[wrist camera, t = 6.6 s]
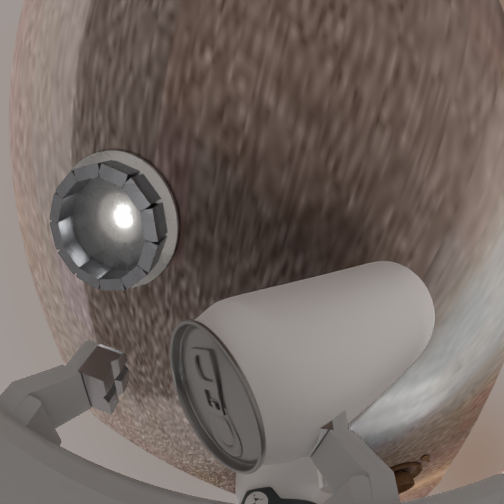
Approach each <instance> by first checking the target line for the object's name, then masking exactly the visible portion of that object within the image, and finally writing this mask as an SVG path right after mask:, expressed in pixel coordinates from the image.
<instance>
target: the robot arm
mask: <svg viewBox="0 0 504 504" xmlns="http://www.w3.org/2000/svg"><path fill="white" fill-rule="evenodd" d="M126 362H127V356H126V354H125V353H124V352H121V351H118V350H115V349H113V348H110V347H107V346H105V345H102V344H99V343H96V342H94V341H91V340H88V341H86V342H85V343H84V344H83V345H82V346H81V348H80V349H79V350H78V351H77V352H76V354H75V355H74V356H73V357H72V358H71V360H70V361H69V362H68V363H67V365H66V366H64V365H60V366H58V367H55V368H52V369H49V370H46V371H43V372H40V373H37V374H35V375H32V376H29V377H26V378H23V379H20V380H17V381H14V382H12V383H11V384H10V385H9V386H8V387H7V389H6V390H5V391H4V392H3V393H2V394H1V395H0V504H232V503H226V502H221V501H215V500H209V499H205V498H200V497H195V496H191V495H187V494H183V493H179V492H175V491H171V490H168V489H164V488H160V487H157V486H154V485H151V484H148V483H145V482H142V481H139V480H136V479H133V478H130V477H127V476H125V475H122V474H120V473H117V472H114V471H112V470H109V469H107V468H104V467H102V466H100V465H97V464H95V463H93V462H91V461H88V460H86V459H84V458H82V457H80V456H78V455H76V454H74V453H72V452H70V451H68V450H66V449H64V448H62V447H60V444H61V439H60V437H59V435H58V433H57V432H56V430H55V428H57V427H58V426H60V425H62V424H64V423H66V422H67V421H69V420H71V419H72V418H74V417H76V416H78V415H80V414H81V413H83V412H85V411H87V410H88V409H90V408H91V407H94V408H96V409H99V410H101V411H104V412H107V413H110V414H112V413H113V411H114V409H115V407H116V406H117V404H118V402H119V400H118V395H120V394H122V393H124V391H125V389H126V387H127V384H128V380H129V370H128V368H127V367H126V366H125V364H126ZM319 430H320V435H319V439H318V442H317V444H316V445H315V446H314V448H313V449H312V450H311V451H310V452H308V453H307V454H306V455H304V456H302V457H301V458H299V459H297V460H295V461H292V462H289V463H284V464H277V465H266V466H261V467H260V468H259V469H258V470H257V471H255V472H254V473H251V474H240V473H236V501H237V503H238V504H504V474H497V475H494V476H491V477H489V478H486V479H484V480H481V481H479V482H476V483H473V484H470V485H467V486H464V487H461V488H457V489H454V490H450V491H447V492H443V493H439V494H436V495H432V496H428V497H423V498H418V499H414V500H409V501H403V502H400V500H399V494H398V489H397V485H396V480H395V475H394V472H393V471H392V470H391V469H390V468H389V467H388V466H387V465H386V464H385V463H384V462H383V461H382V460H381V459H380V458H379V457H378V456H377V455H376V454H375V453H374V452H373V451H372V450H371V449H370V448H369V447H368V446H367V445H366V444H365V443H364V442H363V441H362V439H361V438H360V437H359V436H358V435H357V434H356V433H355V432H354V431H349V427H348V421H347V416H346V411H343V412H342V413H341V414H339V415H338V416H337V417H335V418H334V419H333V420H331V421H330V422H328V423H327V424H325V425H324V426H322V427H321V428H319Z"/></svg>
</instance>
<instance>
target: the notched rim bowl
mask: <svg viewBox="0 0 504 504" xmlns="http://www.w3.org/2000/svg"><path fill="white" fill-rule="evenodd" d="M50 220H52V221H53V222H51V223H50V226H51V230H52V234H53V238H54V242H55V246H56V249H61V250H60V251H59V252H58V254H59V255H60V256H61V258H62V259H63V261H64V262H65V263H66V265H67V266H68V267H69V269H70V270H71V271H72V273H73V274H75V273H76V272H77V276H76V277H77V278H79V279H81V280H83V281H84V282H86V283H88V284H89V285H91V286H93V287H95V288H97V289H99V288H101V290H126V288H127V289H129V288H133V287H138V286H141V285H144V284H146V283H148V282H150V281H152V280H153V279H155V278H156V277H157V276H158V275H160V273H161V272H162V271H163V270H164V269H165V268H166V266H167V265H168V264H169V262H170V260H171V259H172V257H173V255H174V253H175V250H176V247H177V244H178V239H179V230H180V221H179V212H178V208H177V203H176V201H175V198H174V195H173V193H172V191H171V188H170V186H169V185H168V183H167V182H166V180H165V178H164V177H163V176H162V175H161V173H160V172H159V171H158V170H157V169H156V168H155V167H154V166H153V165H152V164H151V163H149V162H148V161H147V160H145V159H144V158H142V157H140V156H138V155H136V154H133V153H130V152H127V151H122V150H107V151H101V152H97V153H94V154H91V155H89V156H87V157H85V158H84V159H83V160H81V161H80V162H79V163H77V164H76V165H75V167H74V168H73V169H72V170H71V171H70V173H69V174H68V175H67V176H66V177H65V179H64V180H63V181H62V182H61V184H60V185H59V186H58V187H57V189H56V193H54V196H53V201H52V207H51V213H50Z"/></svg>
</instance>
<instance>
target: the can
mask: <svg viewBox="0 0 504 504" xmlns="http://www.w3.org/2000/svg"><path fill="white" fill-rule="evenodd" d="M434 323H435V313H434V306H433V302H432V298H431V296H430V293H429V291H428V289H427V287H426V286H425V284H424V283H423V282H422V280H421V279H420V278H419V277H418V276H417V275H416V274H415V273H414V272H413V271H411V270H410V269H408V268H407V267H405V266H403V265H401V264H398V263H395V262H390V261H377V262H372V263H367V264H363V265H359V266H355V267H351V268H347V269H343V270H340V271H336V272H332V273H328V274H324V275H320V276H316V277H312V278H308V279H304V280H299V281H295V282H291V283H287V284H283V285H279V286H275V287H270V288H266V289H262V290H258V291H254V292H249V293H245V294H241V295H237V296H233V297H229V298H226V299H223V300H220V301H218V302H216V303H215V304H213V305H212V306H210V307H209V308H208V309H207V310H205V311H204V312H203V313H202V314H201V315H200V316H199V317H197V318H196V319H195V320H183V321H181V322H180V323H178V324H177V325H176V327H175V328H174V330H173V333H172V336H171V341H170V364H171V371H172V376H173V381H174V385H175V388H176V392H177V395H178V398H179V400H180V403H181V406H182V408H183V410H184V413H185V415H186V417H187V419H188V421H189V423H190V425H191V426H192V428H193V430H194V432H195V433H196V435H197V436H198V438H199V439H200V441H201V442H202V443H203V445H204V446H205V447H206V449H207V450H208V451H209V452H210V453H211V454H212V455H213V456H214V457H215V458H216V459H217V460H218V461H219V462H220V463H221V464H223V465H224V466H225V467H227V468H228V469H230V470H232V471H234V472H236V473H240V474H251V473H254V472H255V471H257V470H258V469H259V468H260V467H261V466H266V465H277V464H284V463H289V462H292V461H295V460H297V459H299V458H301V457H302V456H304V455H306V454H307V453H308V452H310V451H311V450H312V449H313V448H314V446H315V445H316V444H317V442H318V439H319V435H320V430H319V428H321V427H322V426H324V425H325V424H327V423H328V422H330V421H331V420H333V419H334V418H335V417H337V416H338V415H339V414H341V413H342V412H343V411H346V416H347V421H348V423H349V422H351V421H352V420H353V419H354V418H355V417H357V416H358V415H359V414H360V413H361V412H363V411H364V410H365V409H366V408H367V407H368V406H369V405H371V404H372V403H373V402H374V401H375V400H376V399H377V398H378V397H379V396H381V395H382V394H383V393H384V392H385V391H386V390H387V389H388V388H389V387H390V386H391V385H392V384H393V383H394V382H395V381H396V380H397V379H398V378H399V377H400V376H401V375H402V374H403V373H404V372H405V371H406V370H407V369H408V368H409V367H410V366H411V365H412V364H413V362H414V361H415V360H416V359H417V358H418V357H419V356H420V355H421V353H422V352H423V351H424V350H425V348H426V347H427V345H428V343H429V341H430V339H431V336H432V333H433V329H434Z"/></svg>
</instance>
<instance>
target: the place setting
mask: <svg viewBox="0 0 504 504" xmlns="http://www.w3.org/2000/svg"><path fill="white" fill-rule="evenodd" d="M429 457H430V456H429V455H424V456H423V457H422V458H421V460H426V461H428V462H430V460H429ZM411 466H418V467H417V469H416V470H415V471H414V472H413V473H412V474H410V473H409V472H404V471H397V472H394V475H395V480H396V485H397V489H398V494H400V493H402V492H405V491H407V490H409V489H410V488H412V487H413V486H414V480H413V478H415V477H416V476H417V475H418V474H420V472H421V471H422V466H421V464H419V463H417V462H409V463H404V464H400V465H397V466H394V467H391V468H390V469H391V470H392V471H396V470H399V469H402V468H406V467H411Z"/></svg>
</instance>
